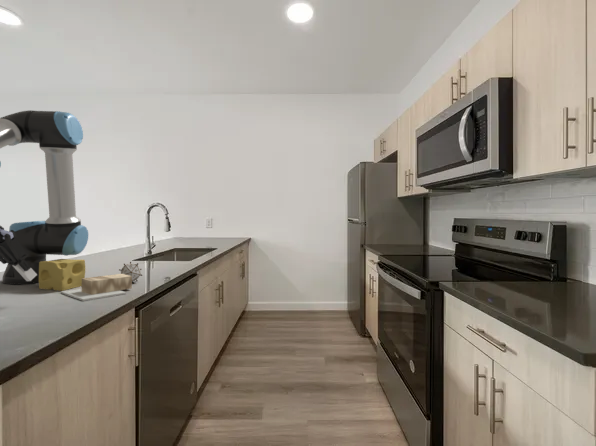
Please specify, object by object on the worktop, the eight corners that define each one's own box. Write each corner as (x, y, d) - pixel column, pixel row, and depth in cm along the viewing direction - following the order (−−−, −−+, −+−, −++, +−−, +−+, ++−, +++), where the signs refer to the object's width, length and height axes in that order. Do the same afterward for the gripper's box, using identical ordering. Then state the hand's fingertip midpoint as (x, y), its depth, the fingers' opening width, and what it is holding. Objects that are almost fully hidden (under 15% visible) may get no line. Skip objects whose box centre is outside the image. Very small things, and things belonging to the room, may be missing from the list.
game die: (135, 291, 144) (151, 272, 144) (116, 286, 138) (132, 267, 137) (128, 277, 150) (143, 259, 149) (110, 272, 143) (125, 253, 142)
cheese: (62, 291, 124) (62, 263, 124) (36, 289, 127) (36, 261, 126) (85, 285, 135) (86, 259, 134) (61, 283, 137) (61, 257, 137)
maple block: (91, 281, 119) (131, 276, 130) (81, 278, 123) (121, 273, 134) (91, 294, 119) (131, 288, 130) (81, 291, 123) (121, 285, 134)
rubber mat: (83, 301, 113) (83, 299, 113) (61, 293, 122) (61, 291, 122) (126, 293, 124) (126, 292, 124) (103, 287, 133) (103, 285, 133)
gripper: (-56, 225, 95) (6, 288, 107) (-21, 219, 91) (39, 285, 104) (-31, 210, 101) (25, 271, 113) (3, 203, 97) (57, 267, 110)
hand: (32, 277), depth 109 cm, fingers closed
